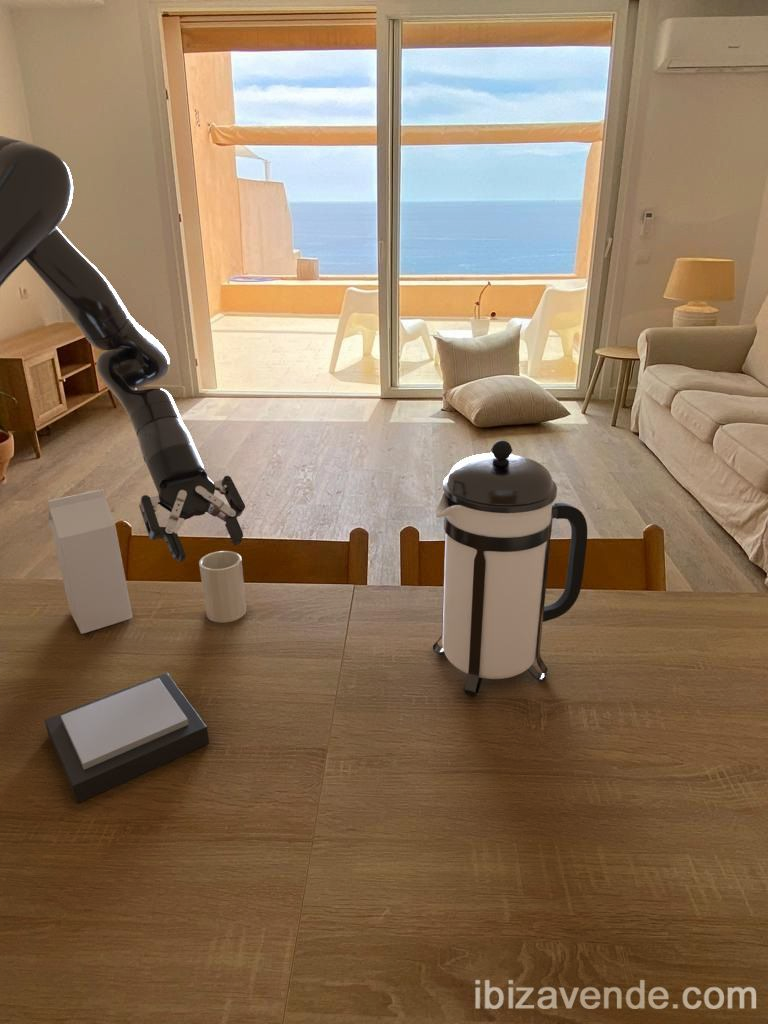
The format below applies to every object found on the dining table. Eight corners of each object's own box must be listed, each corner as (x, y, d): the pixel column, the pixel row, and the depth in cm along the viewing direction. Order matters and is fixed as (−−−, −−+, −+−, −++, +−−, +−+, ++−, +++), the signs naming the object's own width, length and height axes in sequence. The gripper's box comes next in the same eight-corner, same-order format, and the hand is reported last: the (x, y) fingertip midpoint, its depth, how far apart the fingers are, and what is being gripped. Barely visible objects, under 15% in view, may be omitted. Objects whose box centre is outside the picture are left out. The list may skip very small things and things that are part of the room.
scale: (77, 804, 69) (70, 779, 68) (48, 736, 78) (42, 713, 77) (209, 743, 76) (206, 720, 75) (170, 688, 85) (166, 666, 84)
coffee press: (533, 719, 79) (557, 475, 67) (410, 677, 87) (411, 449, 74) (575, 643, 93) (602, 428, 81) (466, 612, 100) (475, 410, 88)
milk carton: (133, 619, 100) (110, 497, 92) (81, 635, 96) (53, 510, 88) (119, 598, 105) (97, 481, 97) (70, 612, 101) (42, 492, 94)
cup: (216, 627, 97) (209, 574, 94) (199, 609, 102) (192, 558, 98) (253, 613, 101) (248, 562, 97) (236, 597, 105) (230, 547, 101)
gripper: (126, 452, 97) (167, 555, 93) (220, 433, 105) (262, 527, 101) (120, 477, 103) (159, 575, 99) (210, 457, 111) (249, 547, 107)
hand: (211, 551), depth 100 cm, fingers open, 8 cm apart
